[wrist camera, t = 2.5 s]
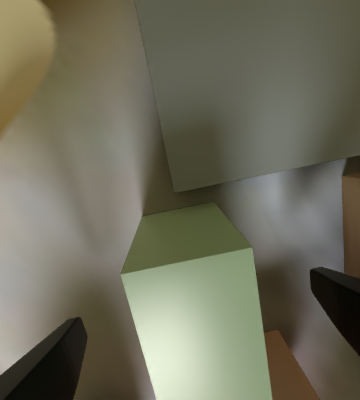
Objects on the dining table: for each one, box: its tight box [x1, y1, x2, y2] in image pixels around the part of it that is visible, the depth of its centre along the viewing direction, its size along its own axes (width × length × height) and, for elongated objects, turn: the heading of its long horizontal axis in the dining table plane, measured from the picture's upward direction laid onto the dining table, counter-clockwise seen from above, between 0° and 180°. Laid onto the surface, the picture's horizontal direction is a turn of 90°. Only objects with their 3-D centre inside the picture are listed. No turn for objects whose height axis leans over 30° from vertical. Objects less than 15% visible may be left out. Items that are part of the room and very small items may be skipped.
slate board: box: [134, 0, 360, 193], centre depth 9 cm, size 10×10×1 cm
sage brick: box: [120, 202, 272, 400], centre depth 9 cm, size 6×3×5 cm, turn 11°
